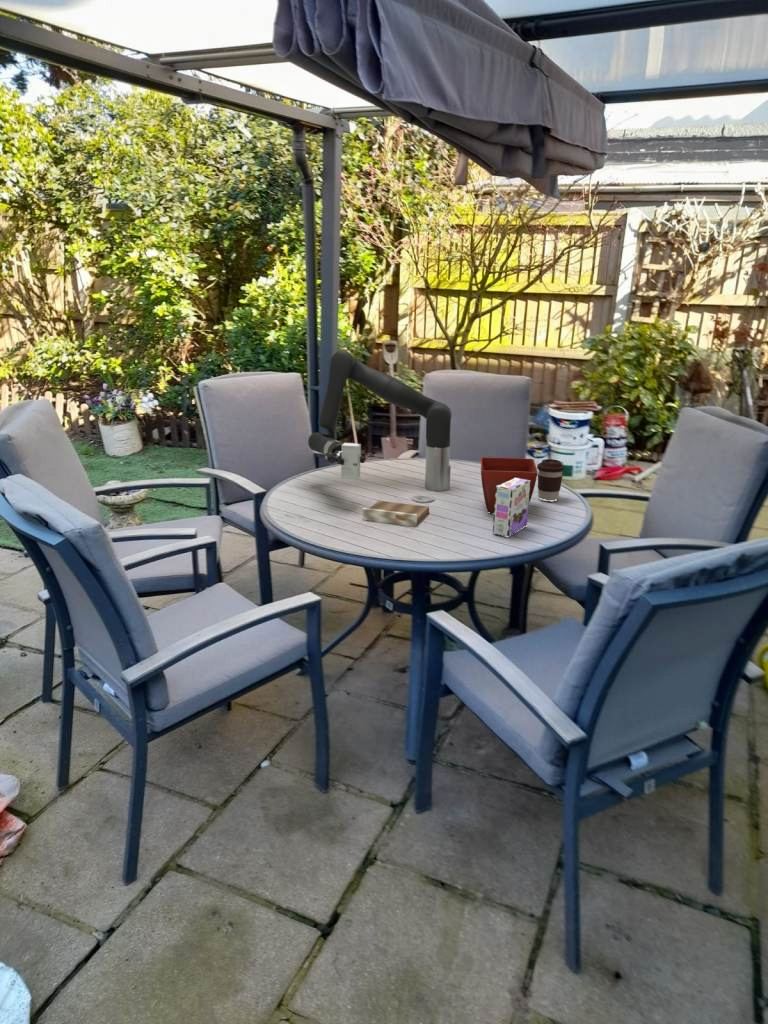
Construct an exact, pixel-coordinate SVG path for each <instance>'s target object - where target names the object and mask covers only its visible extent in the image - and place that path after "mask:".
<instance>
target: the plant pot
mask: <svg viewBox="0 0 768 1024" xmlns="http://www.w3.org/2000/svg"><path fill="white" fill-rule="evenodd" d="M536 465H537V464H536V461H535V459H534V458H524V457H523V458H521V457H520V458H517V457H490V456H489V457H488V456H482V457H480V476H481V485H482V487H481V488H482V492H483V498H484V503H485V506H486V510H487V513H488V512H490V513H494V508H495V494H496V486H498V485H500V484H503V483H505V482H507V481H510V480H512V479H514V478H520V479H525V480H530V492H529V504H530V503H531V500H532V496H533V493H534V490H535V487H536V482H537V479H538V473H539V470H538V469H537V466H536ZM490 513H489V514H490Z"/></svg>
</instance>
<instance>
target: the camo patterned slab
mask: <svg viewBox="0 0 768 1024" xmlns="http://www.w3.org/2000/svg"><path fill="white" fill-rule="evenodd" d="M429 514H430V506H426V505H419V504H410V503H402V502H393V501H385V500H384V501H383V500H377V501H376V502H375V503H374V504H372V505H371V506H370V507H363V508H362V520H363V521H367V520H369V521H368V522H375V523H381V524H383V523H384V524H391V525H399V526H405V527H413V526H414V527H417V526H418V525H419V524H420V523H422V522H423V520H424V519H425V518H426V517H427V516H428V515H429Z"/></svg>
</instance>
